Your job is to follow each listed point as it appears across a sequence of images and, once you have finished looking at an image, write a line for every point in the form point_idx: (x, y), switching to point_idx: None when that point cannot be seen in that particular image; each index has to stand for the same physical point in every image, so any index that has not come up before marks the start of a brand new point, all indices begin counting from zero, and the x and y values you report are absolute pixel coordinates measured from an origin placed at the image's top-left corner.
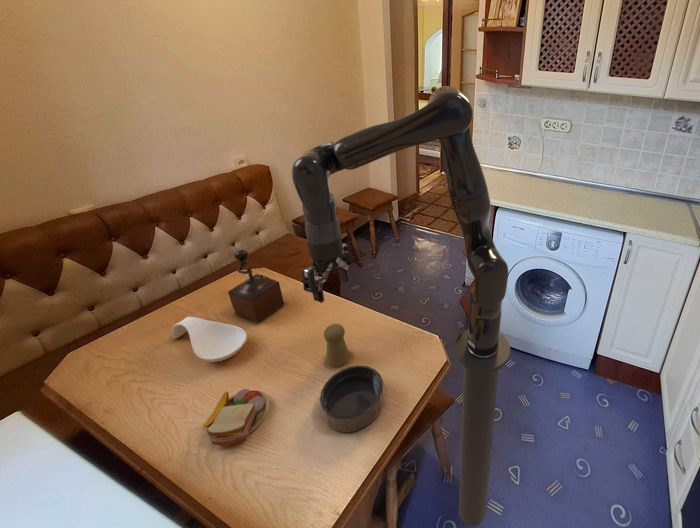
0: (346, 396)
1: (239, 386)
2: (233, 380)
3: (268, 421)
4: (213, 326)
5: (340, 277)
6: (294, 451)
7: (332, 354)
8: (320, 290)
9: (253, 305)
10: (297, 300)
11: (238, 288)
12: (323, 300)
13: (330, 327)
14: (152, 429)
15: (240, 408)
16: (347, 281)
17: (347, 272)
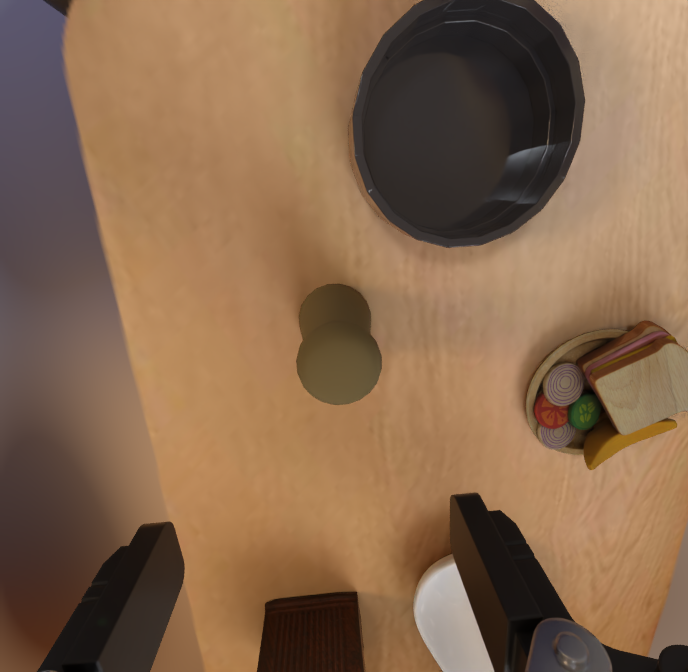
0: (439, 181)
1: (520, 464)
2: (513, 489)
3: (573, 323)
4: (452, 662)
5: (164, 608)
6: (621, 190)
7: (367, 324)
8: (552, 621)
9: (360, 663)
10: (232, 589)
11: None
12: (466, 499)
13: (342, 389)
14: (658, 508)
15: (618, 396)
16: (146, 526)
17: (70, 622)
